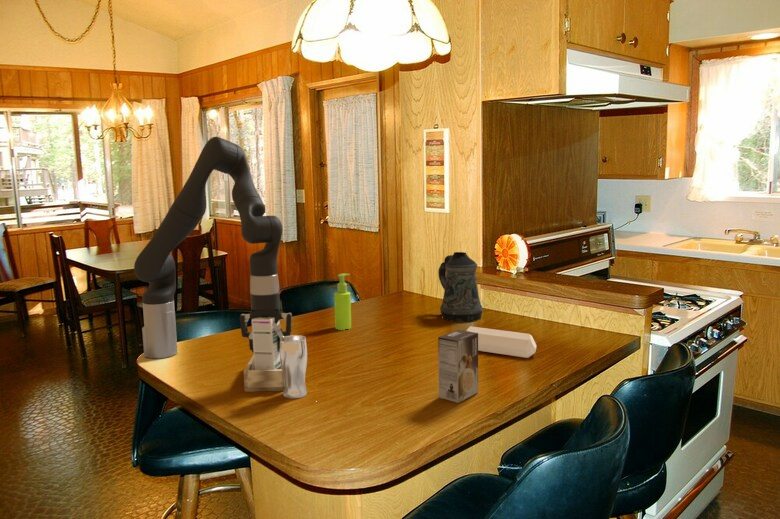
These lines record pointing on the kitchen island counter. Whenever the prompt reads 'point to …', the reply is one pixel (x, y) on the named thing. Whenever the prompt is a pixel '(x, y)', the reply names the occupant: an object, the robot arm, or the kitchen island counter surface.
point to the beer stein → (459, 288)
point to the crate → (262, 379)
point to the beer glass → (293, 365)
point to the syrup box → (265, 344)
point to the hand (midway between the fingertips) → (267, 351)
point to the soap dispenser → (342, 305)
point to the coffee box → (458, 365)
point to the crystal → (504, 342)
